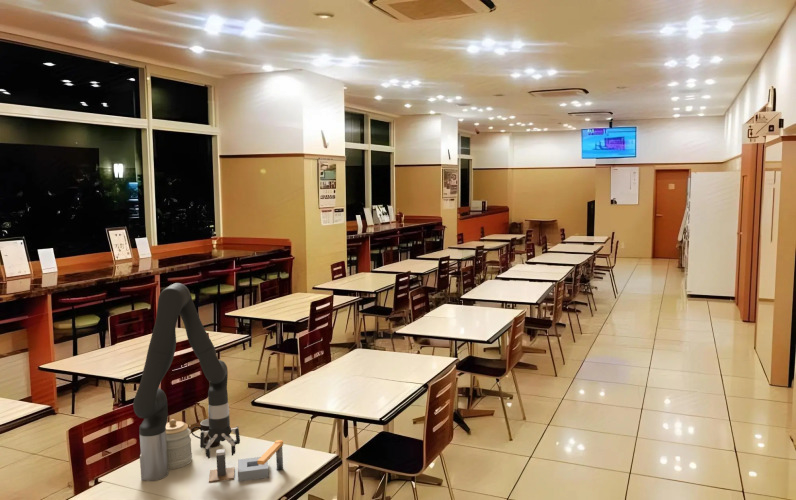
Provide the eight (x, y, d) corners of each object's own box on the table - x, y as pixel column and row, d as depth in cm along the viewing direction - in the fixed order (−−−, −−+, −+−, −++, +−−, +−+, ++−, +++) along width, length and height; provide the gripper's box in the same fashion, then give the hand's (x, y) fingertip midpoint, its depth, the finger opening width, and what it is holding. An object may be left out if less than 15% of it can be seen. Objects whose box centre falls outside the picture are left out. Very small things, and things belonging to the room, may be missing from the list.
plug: (217, 476, 229) (216, 453, 228) (217, 472, 232) (216, 449, 231) (225, 475, 230) (224, 452, 229) (226, 471, 233) (224, 448, 232)
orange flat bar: (276, 443, 236) (276, 439, 236) (284, 443, 236) (284, 440, 235) (256, 464, 219) (256, 460, 218) (264, 464, 218) (264, 461, 218)
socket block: (238, 481, 226) (237, 472, 226) (238, 468, 237) (238, 459, 237) (268, 477, 229) (268, 468, 229) (267, 464, 240) (267, 456, 239)
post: (276, 471, 234) (276, 447, 233) (276, 468, 236) (275, 444, 235) (283, 470, 234) (282, 446, 233) (282, 467, 237) (282, 444, 236)
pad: (208, 482, 226) (208, 480, 226) (210, 471, 234) (210, 470, 234) (234, 479, 228) (234, 477, 228) (234, 468, 237) (234, 467, 236)
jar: (193, 466, 239) (190, 422, 238) (157, 472, 235) (154, 427, 233) (191, 453, 252) (189, 411, 250) (157, 458, 247) (154, 416, 245)
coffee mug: (225, 440, 263) (224, 418, 262) (218, 449, 255) (216, 426, 254) (199, 440, 264) (198, 417, 263) (191, 448, 256) (189, 425, 255)
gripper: (198, 420, 223) (200, 462, 225) (238, 416, 227) (240, 458, 228) (199, 412, 231) (201, 454, 232) (238, 409, 234) (240, 449, 236)
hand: (220, 456), depth 230 cm, fingers open, 8 cm apart
